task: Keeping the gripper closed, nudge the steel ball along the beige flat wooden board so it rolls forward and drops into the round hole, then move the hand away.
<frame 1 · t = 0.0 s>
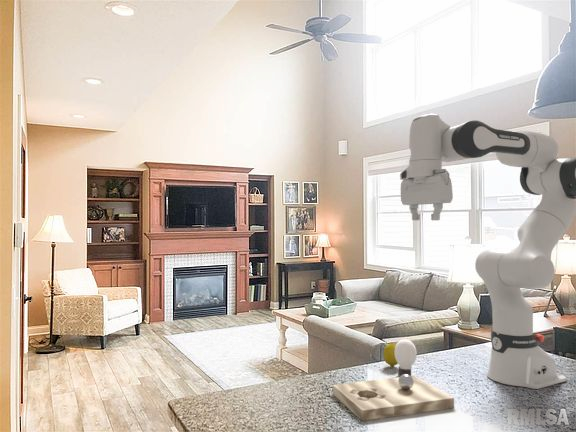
hand: (425, 220, 132), 48 cm above the counter, tool pointing down, fingers open, 8 cm apart
lemon: (392, 367, 152), on the counter
ball: (405, 381, 125), point 4 cm above the counter, touching beige flat wooden board
light bulb: (405, 375, 145), on the counter
beige flat wooden board: (391, 400, 124), on the counter
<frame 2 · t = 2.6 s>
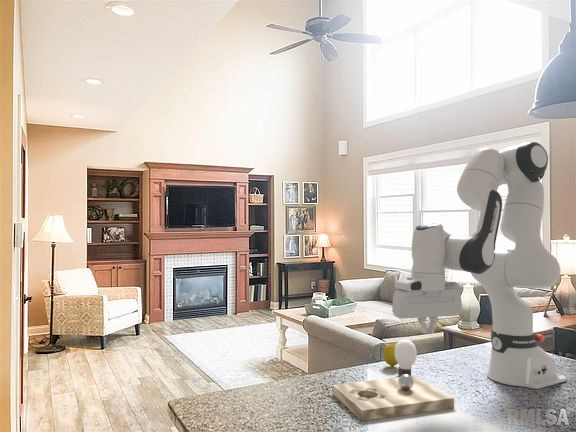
hand: (427, 333, 127), 17 cm above the counter, tool pointing down, fingers closed
nothing on the counter moved.
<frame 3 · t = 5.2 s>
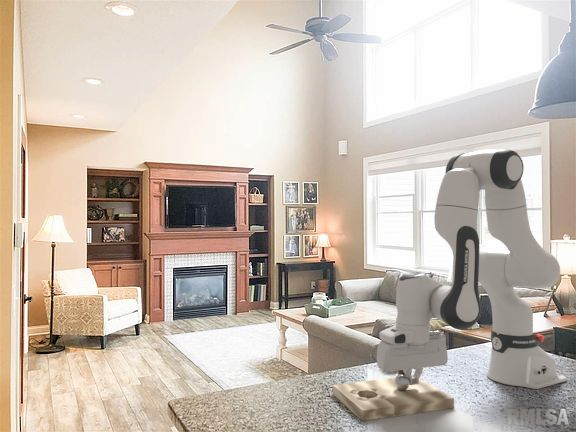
hand: (412, 384, 126), 4 cm above the counter, tool pointing down, fingers closed
ball: (402, 382, 125), point 4 cm above the counter, tilted 35°, touching beige flat wooden board, gripper
everything else where it was.
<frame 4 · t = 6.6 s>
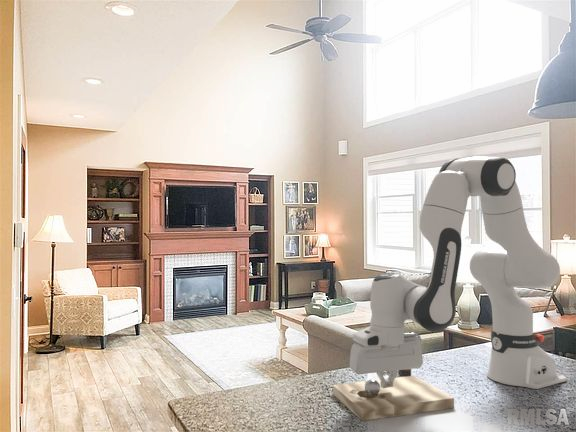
hand: (386, 387, 124), 4 cm above the counter, tool pointing down, fingers closed
ball: (372, 387, 122), point 4 cm above the counter, tilted 69°
everything else where it was.
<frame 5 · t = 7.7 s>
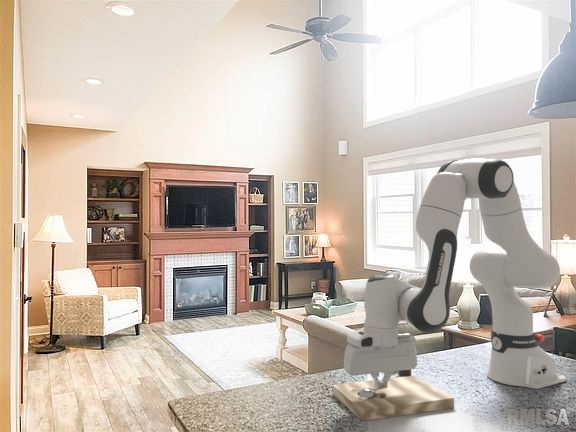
hand: (381, 388, 123), 4 cm above the counter, tool pointing down, fingers closed
ball: (366, 396, 122), point 2 cm above the counter, tilted 33°
everything else where it was.
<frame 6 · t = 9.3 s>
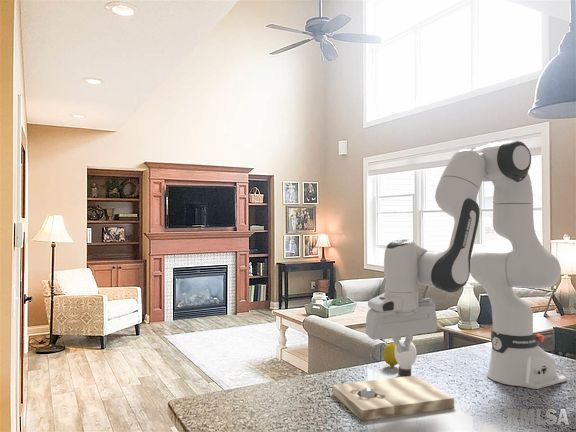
hand: (402, 351, 126), 13 cm above the counter, tool pointing down, fingers closed
ball: (367, 396, 122), point 2 cm above the counter, tilted 21°
everything else where it was.
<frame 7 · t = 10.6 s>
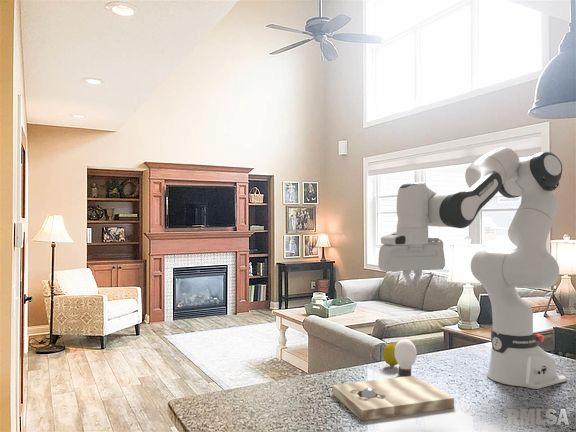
hand: (412, 286, 134), 29 cm above the counter, tool pointing down, fingers closed
ball: (368, 396, 122), point 2 cm above the counter, tilted 11°
everything else where it was.
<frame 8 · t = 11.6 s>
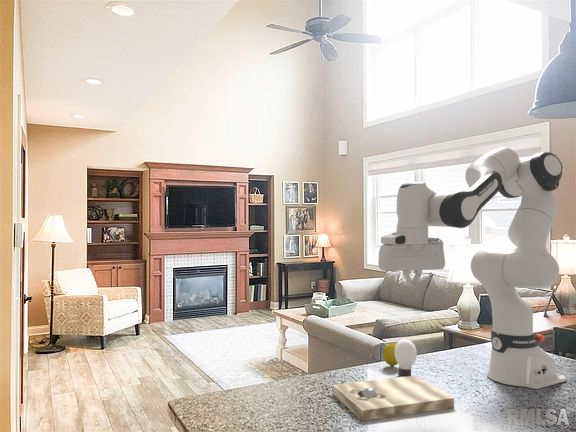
hand: (412, 285, 134), 29 cm above the counter, tool pointing down, fingers closed
ball: (369, 395, 122), point 2 cm above the counter
everything else where it was.
at the end: ball 0.6 cm from the target spot on the beige flat wooden board, point 2.0 cm above the beige flat wooden board's base; ball touching counter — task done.
